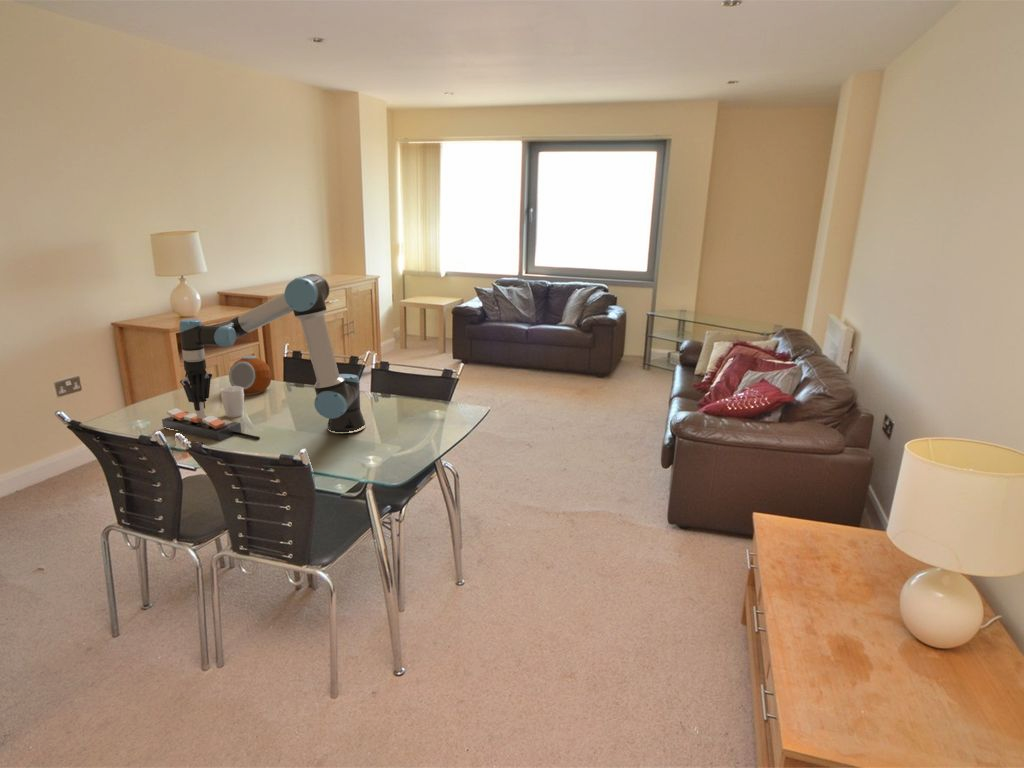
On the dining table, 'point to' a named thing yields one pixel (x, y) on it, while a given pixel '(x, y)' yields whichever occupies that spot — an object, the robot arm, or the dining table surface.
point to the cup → (233, 400)
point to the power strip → (206, 429)
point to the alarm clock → (250, 375)
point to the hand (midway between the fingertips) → (201, 417)
